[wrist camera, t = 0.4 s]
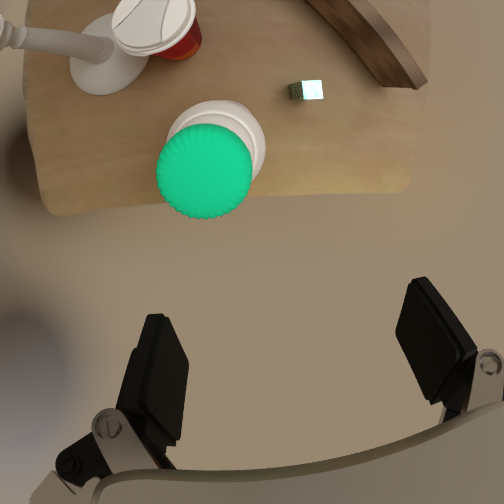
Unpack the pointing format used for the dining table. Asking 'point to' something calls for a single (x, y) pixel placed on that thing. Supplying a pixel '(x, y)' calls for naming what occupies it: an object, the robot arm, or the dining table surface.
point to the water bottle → (210, 159)
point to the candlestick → (81, 53)
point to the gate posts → (306, 90)
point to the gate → (372, 41)
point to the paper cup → (157, 28)
